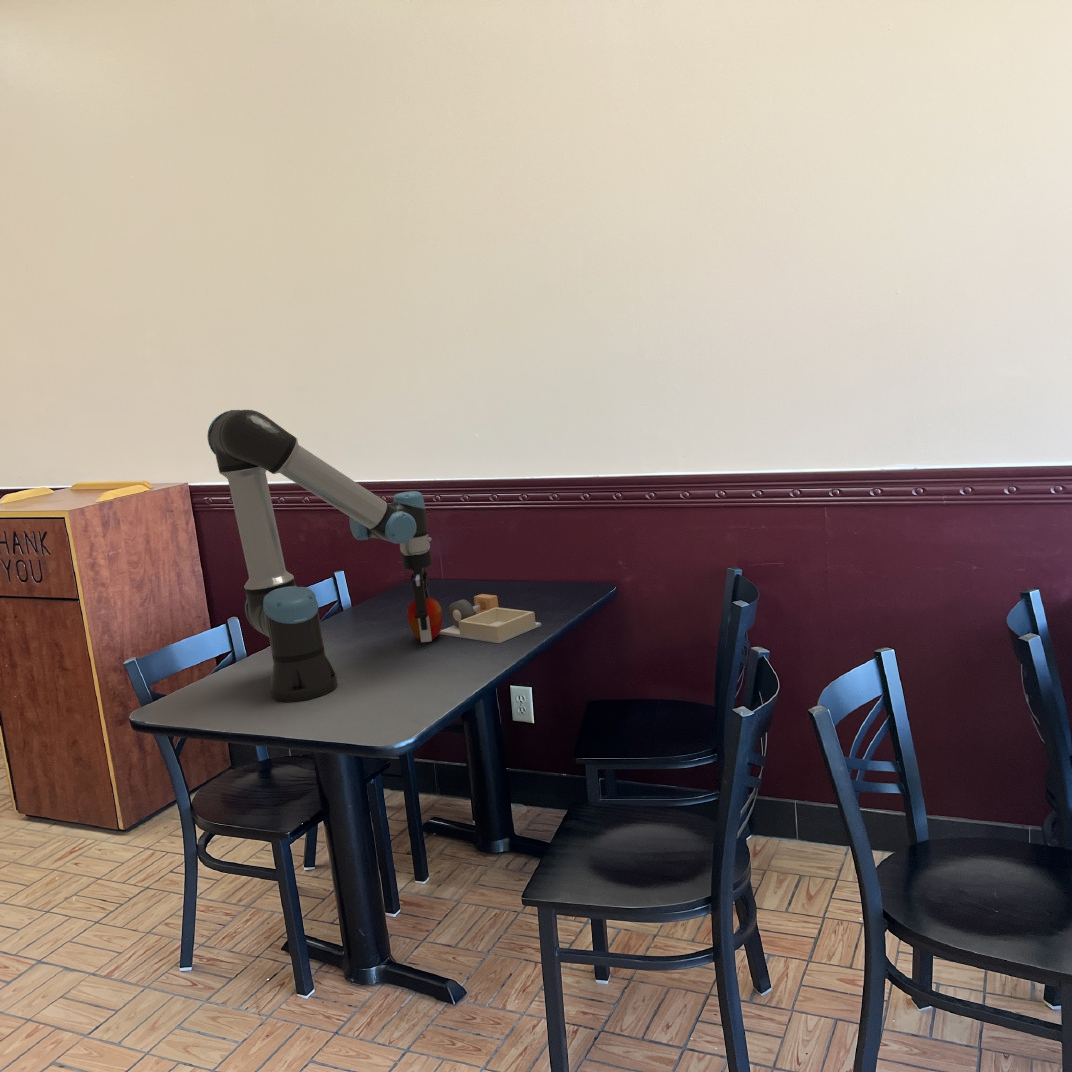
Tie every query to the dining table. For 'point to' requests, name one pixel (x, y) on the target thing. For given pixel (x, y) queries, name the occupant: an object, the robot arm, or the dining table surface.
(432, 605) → the apple
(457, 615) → the wheel
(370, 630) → the dining table surface
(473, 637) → the chassis
